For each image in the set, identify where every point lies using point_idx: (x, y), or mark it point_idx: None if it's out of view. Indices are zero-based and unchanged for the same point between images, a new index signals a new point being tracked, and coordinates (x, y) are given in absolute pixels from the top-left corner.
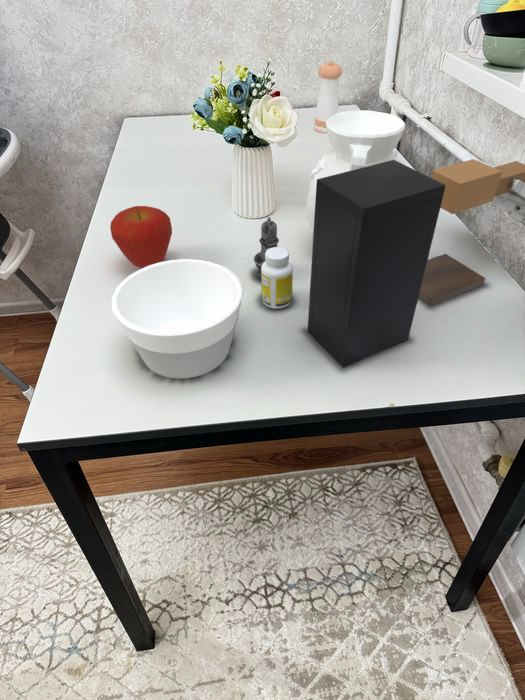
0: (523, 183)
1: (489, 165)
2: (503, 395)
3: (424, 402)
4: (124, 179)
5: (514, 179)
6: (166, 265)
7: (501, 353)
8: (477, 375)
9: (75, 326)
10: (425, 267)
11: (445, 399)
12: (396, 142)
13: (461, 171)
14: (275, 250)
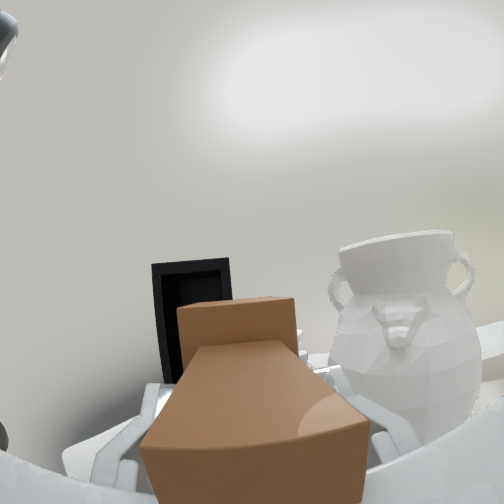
0: (142, 414)
1: (476, 415)
2: (71, 446)
3: (121, 423)
4: (492, 326)
5: (174, 384)
6: (298, 332)
7: (87, 477)
8: (97, 451)
9: (308, 356)
10: (160, 358)
11: (109, 430)
12: (364, 265)
13: (237, 300)
14: (301, 352)
